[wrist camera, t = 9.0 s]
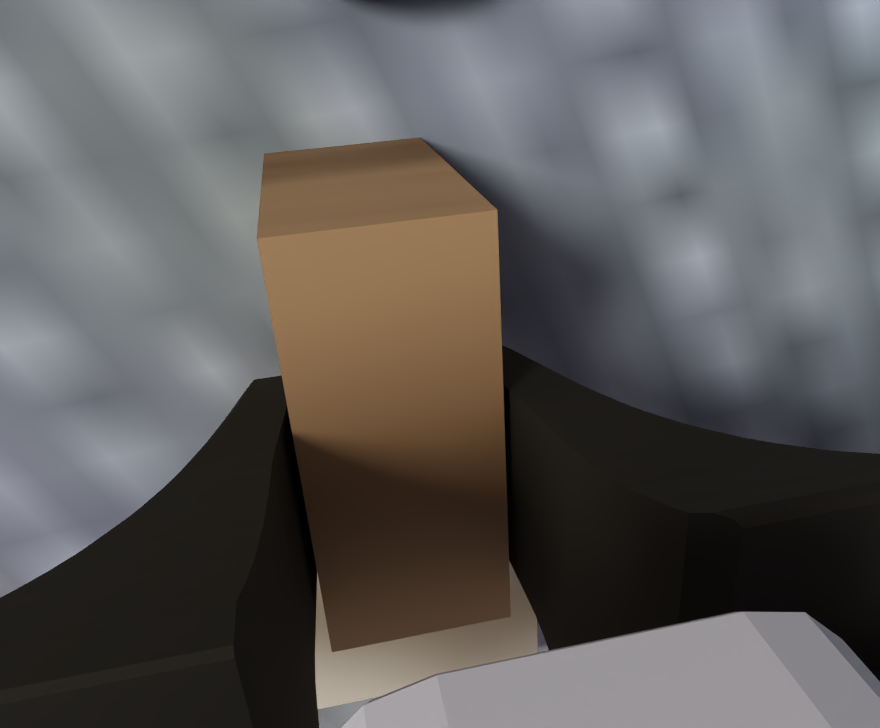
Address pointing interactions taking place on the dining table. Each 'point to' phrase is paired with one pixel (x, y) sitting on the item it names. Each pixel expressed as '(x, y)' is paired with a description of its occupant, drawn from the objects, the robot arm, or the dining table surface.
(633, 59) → the dining table surface
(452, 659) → the tall cardboard box
